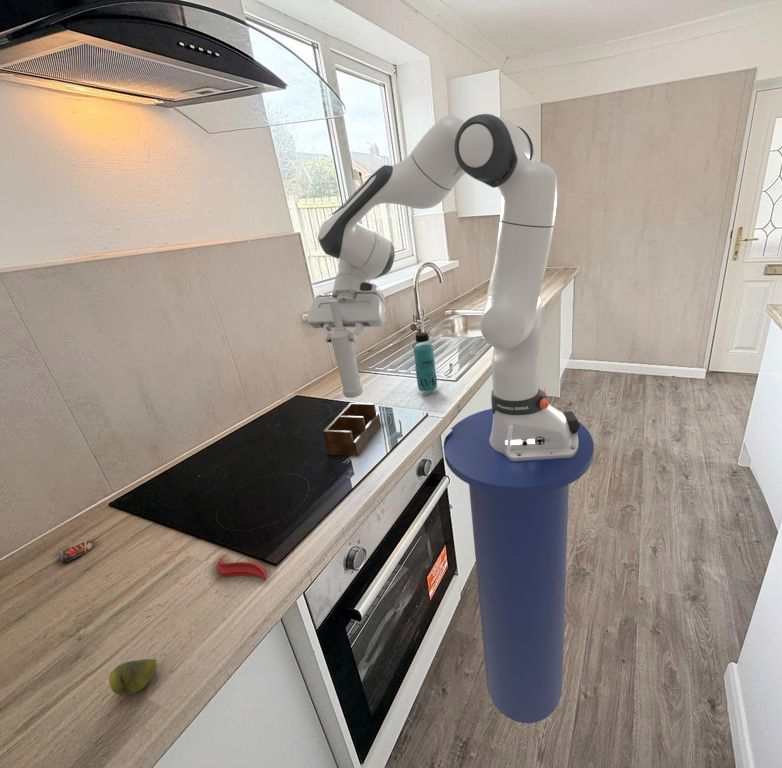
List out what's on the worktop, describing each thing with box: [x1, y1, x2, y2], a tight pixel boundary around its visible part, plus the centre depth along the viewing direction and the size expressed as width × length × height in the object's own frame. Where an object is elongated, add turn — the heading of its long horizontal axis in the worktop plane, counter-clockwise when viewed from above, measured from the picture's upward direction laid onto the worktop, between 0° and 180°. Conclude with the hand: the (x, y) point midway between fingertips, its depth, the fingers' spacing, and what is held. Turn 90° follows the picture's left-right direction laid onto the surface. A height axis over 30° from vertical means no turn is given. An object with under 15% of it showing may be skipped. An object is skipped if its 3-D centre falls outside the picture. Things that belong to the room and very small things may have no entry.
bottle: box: [329, 300, 364, 399], centre depth 104 cm, size 5×5×25 cm
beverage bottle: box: [413, 332, 438, 393], centre depth 132 cm, size 6×7×20 cm
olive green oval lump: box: [108, 658, 158, 697], centre depth 55 cm, size 4×5×5 cm
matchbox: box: [60, 540, 93, 563], centre depth 81 cm, size 5×5×1 cm
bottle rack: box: [322, 402, 382, 457], centre depth 110 cm, size 8×16×7 cm, turn 169°
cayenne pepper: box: [216, 557, 268, 581], centre depth 73 cm, size 12×5×2 cm, turn 59°
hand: (341, 341), depth 103 cm, fingers closed on bottle, 5 cm apart
